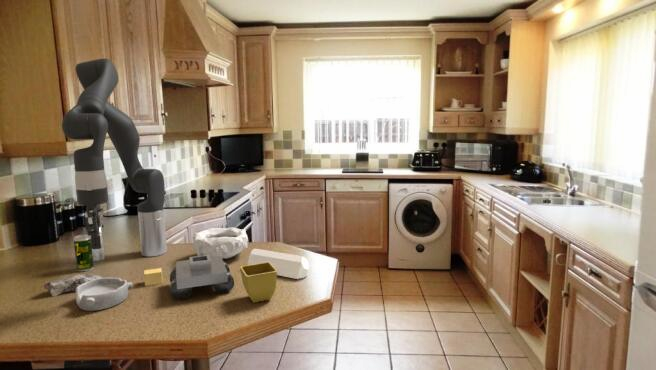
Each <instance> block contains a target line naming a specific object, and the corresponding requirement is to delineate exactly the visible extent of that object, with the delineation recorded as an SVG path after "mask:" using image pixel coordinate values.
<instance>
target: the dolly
mask: <svg viewBox="0 0 656 370" xmlns="http://www.w3.org/2000/svg"><path fill="white" fill-rule="evenodd" d="M169 282H170V284H169V294H170V296H171V298H173V299H174V300H176V301H184V300H186V299H188V298H189V297H190V296H191V294H192V292H193V288H195V287H196V288H197V287H202V286H210V285H212V286H213V289H214V290H215V292H217V293H218V294H222V293H224V294H228V293H229V292H231V291H232V290H233V288H234V287H235V279H234V277H233V275H232V273H231V270H230V267H229V265H228V263H227V262H226V261H224V259H222V257H221V256H216V257H210V256H209V255H201V256H198V255H195V256H189V259H186V260H178V261H175V267H174V268H173V269H171V270H170V273H169Z"/></svg>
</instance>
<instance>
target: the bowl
mask: <svg viewBox="0 0 656 370" xmlns="http://www.w3.org/2000/svg"><path fill="white" fill-rule="evenodd" d="M192 235H193V236H192V249H193V253H195V252H196V254H197V255H196V256H203V255H209V256H210V257H216V256H221V257H222V259H223V260H226V259H231V258H232V257H235V256H236V255H238V254H239V253H241V252H243V251H244V249H247V248H249V247H248V246H249V245H250V243H249V238H248V234H247V232H246V229H243V228H242V229H240V228H238V227H231V226H230V227H225V228H222V227H211V228H208V229H204V230H201V231H199V232H194V233H193V234H192Z"/></svg>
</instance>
